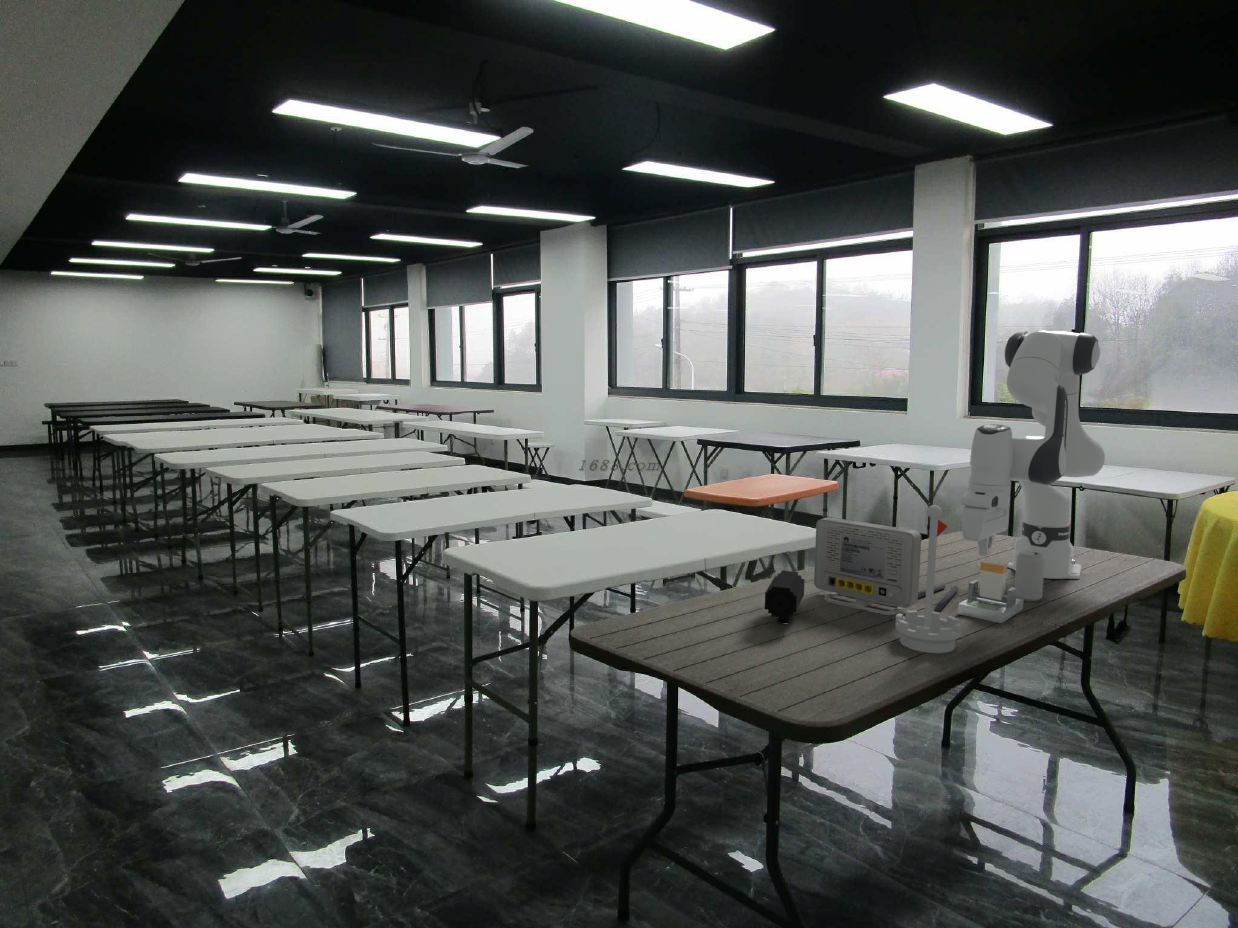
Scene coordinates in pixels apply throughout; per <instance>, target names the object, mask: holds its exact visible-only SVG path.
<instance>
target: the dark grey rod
mask: <svg viewBox="0 0 1238 928" xmlns="http://www.w3.org/2000/svg"><path fill="white" fill-rule="evenodd" d="M958 590H959V587H958V586H957V585H954V586H952V587H951V588H950V590H949V591H948V592H947V593H946V594H945V595H944V596H943V598H941V600H939V602H938V603H937V605H935V607H933V612H938V613H941V612H940V611H941V610H943V609H944V607H945V606H946V604H947V603H949V601H950V600H951V599H952V598H953V596H954V595H955V594H956V593H957V592H958Z"/></svg>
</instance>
